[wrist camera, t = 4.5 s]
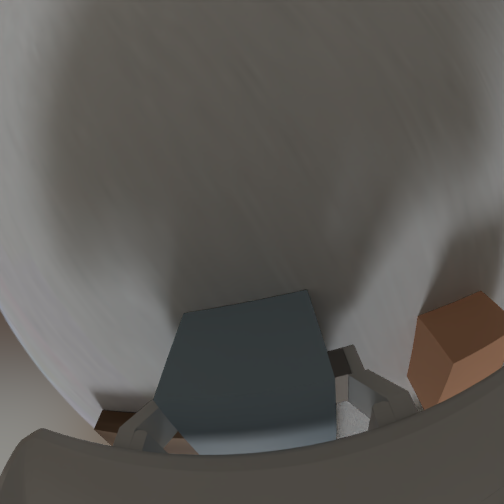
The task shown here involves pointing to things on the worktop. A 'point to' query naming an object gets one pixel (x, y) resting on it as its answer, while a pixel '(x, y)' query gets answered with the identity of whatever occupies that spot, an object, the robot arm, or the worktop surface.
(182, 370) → the slate block
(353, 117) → the worktop surface
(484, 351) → the terracotta block
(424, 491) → the robot arm
